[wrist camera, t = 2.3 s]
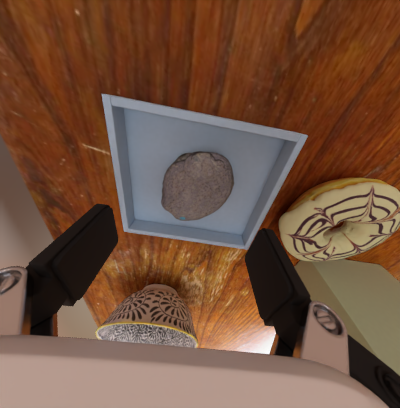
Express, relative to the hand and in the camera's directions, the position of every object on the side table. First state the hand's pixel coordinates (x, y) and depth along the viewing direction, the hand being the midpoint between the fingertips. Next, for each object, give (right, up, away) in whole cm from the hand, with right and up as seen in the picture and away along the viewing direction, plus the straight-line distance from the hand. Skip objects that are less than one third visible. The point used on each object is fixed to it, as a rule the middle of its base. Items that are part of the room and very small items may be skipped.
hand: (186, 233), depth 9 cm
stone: (+1, +4, +6) cm, 7 cm away
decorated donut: (+15, +1, +8) cm, 17 cm away
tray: (+1, +4, +6) cm, 8 cm away
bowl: (-7, -16, +20) cm, 26 cm away
